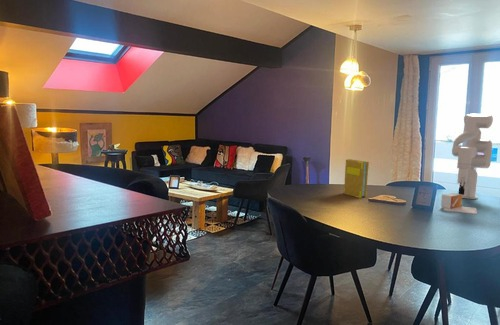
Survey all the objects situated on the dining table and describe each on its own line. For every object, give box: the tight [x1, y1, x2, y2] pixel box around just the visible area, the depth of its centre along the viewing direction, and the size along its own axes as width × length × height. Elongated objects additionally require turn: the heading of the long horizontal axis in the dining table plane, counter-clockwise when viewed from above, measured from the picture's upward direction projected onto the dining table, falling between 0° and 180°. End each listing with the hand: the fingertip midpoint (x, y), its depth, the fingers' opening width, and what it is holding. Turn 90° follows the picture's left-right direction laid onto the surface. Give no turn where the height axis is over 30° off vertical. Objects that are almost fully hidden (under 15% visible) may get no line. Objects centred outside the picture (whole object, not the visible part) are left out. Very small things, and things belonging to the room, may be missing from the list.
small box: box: [440, 192, 463, 209], centre depth 244 cm, size 8×6×13 cm
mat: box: [443, 205, 478, 215], centre depth 240 cm, size 16×18×1 cm
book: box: [343, 158, 370, 199], centre depth 274 cm, size 17×7×25 cm, turn 34°
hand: (461, 194), depth 247 cm, fingers closed
